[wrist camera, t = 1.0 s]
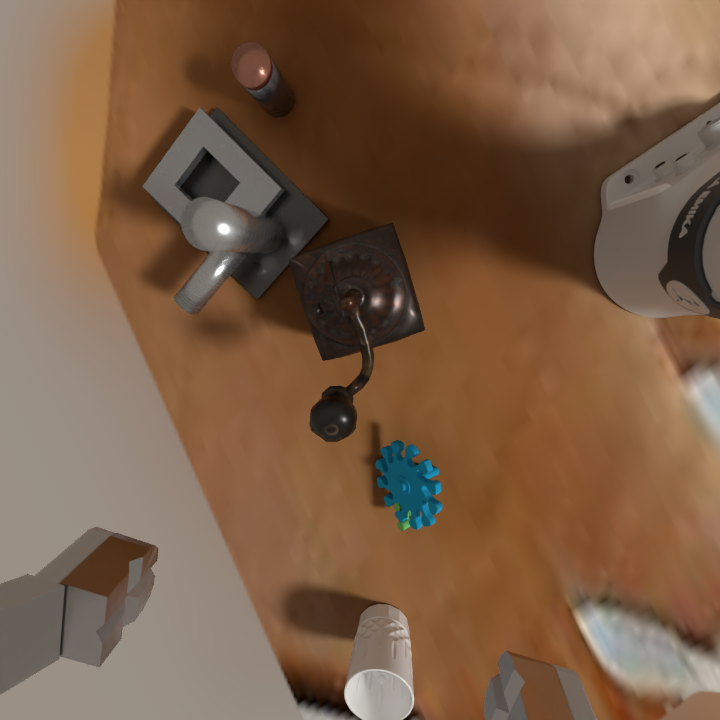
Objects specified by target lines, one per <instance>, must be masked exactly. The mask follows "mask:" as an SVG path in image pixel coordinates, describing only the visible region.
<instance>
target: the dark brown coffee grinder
mask: <svg viewBox="0 0 720 720" xmlns="http://www.w3.org/2000/svg"><path fill="white" fill-rule="evenodd" d="M288 261H289V264H290V268H291V271H292V274H293V278H294V281H295V284H296V287H297V290H298V293H299V296H300V299H301V302H302V305H303V308H304V311H305V314H306V317H307V320H308V322H309V325H310V328H311V331H312V334H313V337H314V340H315V343H316V345H317V347H318V350H319V352H320V355H321V357H322V360H323V361H325V360H330V359H335V358H341V357H344V356H347V355H351V354H354V353H358V352H361V354H362V369H361V372H360V374H359V375H358V376H357V377H356V379H355V380H354V381H353V382H352V383H351V384H350V385H349V386H347V387H346V388H345V387H342V386H330V387H329V388H328V389H326V390H325V391H324V392H323V393H322V399H320V400H319V401H318V402H317V403H316V404H315V405H314V406H313V407H312V409H311V413H310V428H311V431H312V432H314V433H315V434H317V435H318V436H319V437H321V438H322V439H323V440H325V441H326V442H338V441H340V440H342V439H344V438H346V437H348V436H349V435H350V434H352V433H353V431H354V430H355V429H356V420H357V411H356V409H355V407H354V405H353V395H354V394H356V393H357V392H358V391H360V390H361V389H362V388H363V387H364V386H365V384H366V383H367V382H368V380H369V378H370V375H371V373H372V370H373V363H374V353H373V348H374V347H377V346H381V345H385V344H388V343H392V342H396V341H398V340H401V339H403V338H405V337H408V336H410V335H413V334H415V333H418V332H421V331H424V330H425V327H424V323H423V319H422V315H421V311H420V308H419V303H418V301H417V297H416V294H415V290H414V287H413V283H412V280H411V276H410V273H409V269H408V266H407V263H406V260H405V257H404V254H403V251H402V248H401V245H400V243H399V240H398V237H397V234H396V231H395V228H394V225H393V223H391V224H387V225H384V226H380V227H376V228H373V229H369V230H366V231H364V232H361V233H358V234H355V235H352V236H349V237H346V238H343V239H340V240H337V241H334V242H332V243H329V244H326V245H323V246H320V247H317V248H314V249H312V250H309V251H307V252H304V253H301V254H299V255H297V256H295V257H293V258H291V259H288Z"/></svg>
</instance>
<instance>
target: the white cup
mask: <svg viewBox="0 0 720 720" xmlns="http://www.w3.org/2000/svg"><path fill="white" fill-rule="evenodd" d="M344 696H345V701H346V703H347V705H348V707H349V708H350V710H351V711H352V712H353V713H354V714H355V715H357V716H358V717H359V718H361V719H363V720H403V719H404V718H405V717H407V716H408V714H409V713H410V712H411V710H412V708H413V705H414V691H413V673H412V658H411V645H410V639H409V626H408V622H407V618H406V616H405V615H404V614H403V613H402V612H401V611H400V610H399V609H397V608H395V607H393V606H391V605H388V604H376V605H373V606H370V607H368V608H367V609H366V610H365V611H364V612H363V613H362V614H361V616H360V620H359V624H358V629H357V633H356V635H355V640H354V644H353V649H352V653H351V658H350V663H349V669H348V674H347V679H346V684H345V690H344Z"/></svg>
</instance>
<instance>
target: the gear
mask: <svg viewBox="0 0 720 720" xmlns="http://www.w3.org/2000/svg"><path fill="white" fill-rule="evenodd" d="M403 449H404V443H403V442H401V441H398V440H396V441H394V442H392V443H391V446H386V447H384V448H382V449H380V452H381V454H382V456H383V457H384V458H385V459H384V458H381V459H378V460H377V462H376V465H375V466H376V468H377V469H378V470H380V471H381V472H382V473H383V474H384V475H385V476H384V475H382V476H380V477H378V478H377V484H378V487H380V488H386V489H388V490H389V491H390V492H391V493H392V494H388V495H386V496H384V501H385V504H386V506H387V507H390V506H392V505H394V508H395V509H396V512H395V516H396V517H397V519H398V520H399V521H400V522H398V528H399V529H400V530H401V531H403V530H405V529H407V528H409V527H410V526H411V527H412V528H414V529H416V530H417V529H419V528H421V527H422V524H423V525H424V526H430V525H432V524H434V523H435V522H436V521H435V518H434V516H433V515H435V514H436V513H438V512H440V511H441V509H442V507H443V505H442V504H441V502H439V501H438V500H436V499H435V498H434V497H433V496H432V495H431V494H433V495H436V494H438V493H440V492H441V483H440V482H439V481H438V480H434V481H432V480H429V479H430V478H432V477H434V476H436V475H438V474H439V470H438V468H437V467H432V464H431V462H430V460H429V459H426V460H424V461H422V462H420V464H419V465H415V464H414V463H413V462H412V458H413V457H415V456H417V455H419V450H418V449H417V447H416V446H414V445H413V444H412V445H410V446H407V447H406V453H405V457H404V458H403V457H402V456H401V452H402V450H403ZM392 454H394V459H393V457H392ZM427 488H428V489H427ZM428 490H429V491H430V492H429V491H428ZM430 493H431V494H430ZM428 506H429V508H428ZM420 511H421V512H422V521H421V517H420ZM431 513H432V514H433V515H432V514H431Z"/></svg>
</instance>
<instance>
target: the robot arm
mask: <svg viewBox="0 0 720 720" xmlns="http://www.w3.org/2000/svg"><path fill="white" fill-rule="evenodd" d="M626 176H629V177H630V183H629V184H627V183H625V177H626ZM601 205H602V219H601V223H600V226H599V229H598V232H597V236H596V240H595V246H594V264H595V269H596V273H597V277H598V279H599V282H600V284H601V286H602V287H603V289H604V291H605V292H606V293H607V295H608V296H609V297H610V298H611V299H612V300H613V301H614V302H615V303H617V304H618V305H619V306H621V307H622V308H624V309H625V310H627V311H629V312H632V313H634V314H637V315H641V316H645V317H653V318H665V317H674V316H681V315H706V316H710V317H714V318H718V319H720V103H718V104H717V105H715V106H714V107H712V108H711V109H709V110H708V111H706V112H705V113H703V114H702V115H700V116H699V117H697V118H696V119H694V120H693V121H691V122H690V123H688V124H687V125H685V126H684V127H682V128H681V129H679V130H678V131H676V132H675V133H673V134H672V135H670V136H669V137H667V138H666V139H664V140H663V141H661V142H660V143H658V144H657V145H655V146H654V147H652V148H651V149H649V150H648V151H646V152H645V153H643V154H642V155H640V156H639V157H637V158H636V159H634V160H633V161H631V162H630V163H628V164H627V165H625V166H624V167H622V168H621V169H619V170H618V171H616V172H615V173H613V174H612V175H610V176H609V177H608V178H606V179H605V181H604V182H603V184H602V187H601ZM157 556H158V548H157V547H156V546H155V545H151V544H149V543H146V542H143V541H140V540H137V539H133V538H130V537H127V536H124V535H121V534H118V533H113V532H111V531H107V530H105V529H102V528H99V527H94V528H92V529H89V530H88V531H87V532H85V533H84V534H83V535H82V536H81V537H80V538H78V539H77V540H76V541H75V542H74V543H73V544H71V545H70V546H69V547H68V548H67V549H65V550H64V551H63V552H62V553H61V554H60V555H59V556H57V557H56V558H55V559H54V560H53V561H51V562H50V563H49V564H48V565H47V566H46V567H44V568H43V569H42V570H41V571H40V572H38V573H37V574H36V575H35V576H32V575H28V574H27V575H24V576H21V577H19V578H16V579H13V580H10V581H7V582H4V583H1V584H0V695H1V694H2V693H4V692H5V691H7V690H9V689H10V688H12V687H14V686H16V685H17V684H19V683H20V682H22V681H24V680H25V679H27V678H29V677H30V676H32V675H34V674H35V673H37V672H39V671H40V670H42V669H44V668H45V667H47V666H48V665H50V664H52V663H53V662H55V661H57V660H58V659H59V657H60V656H61V657H64V658H68V659H71V660H75V661H78V662H83V663H86V664H89V665H93V666H96V667H100V666H101V665H102V663H103V662H104V661H105V659H106V658H107V657H108V655H109V654H110V653H111V651H112V650H113V649H114V648H115V646H116V645H117V644H118V642H119V641H120V640H121V636H122V629H123V626H125V625H127V624H129V623H131V622H133V621H135V620H136V618H137V617H138V615H139V614H140V613H141V611H142V610H143V608H144V606H145V604H146V602H147V600H148V598H149V597H150V594H151V591H152V588H153V585H154V579H155V575H154V573H153V572H152V570H151V567H152V566H153V565H154V564H155V562H156V561H157ZM498 668H499V673H500V674H498V675H496V676H494V677H492V678H491V679H490V682H489V685H488V687H487V690H486V697H485V704H484V707H485V720H597V719H596V717H595V715H594V712H593V710H592V707H591V705H590V702H589V700H588V697H587V695H586V693H585V690H584V688H583V685H582V683H581V680H580V678H579V676H578V674H577V673H576V672H575V671H574V670H571V669H568V668H564V667H561V666H557V665H554V664H549V663H547V662H543V661H540V660H536V659H533V658H529V657H526V656H522V655H519V654H516V653H512V652H509V651H505V652H504V653H503V654H501V657H500V659H499V661H498Z"/></svg>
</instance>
